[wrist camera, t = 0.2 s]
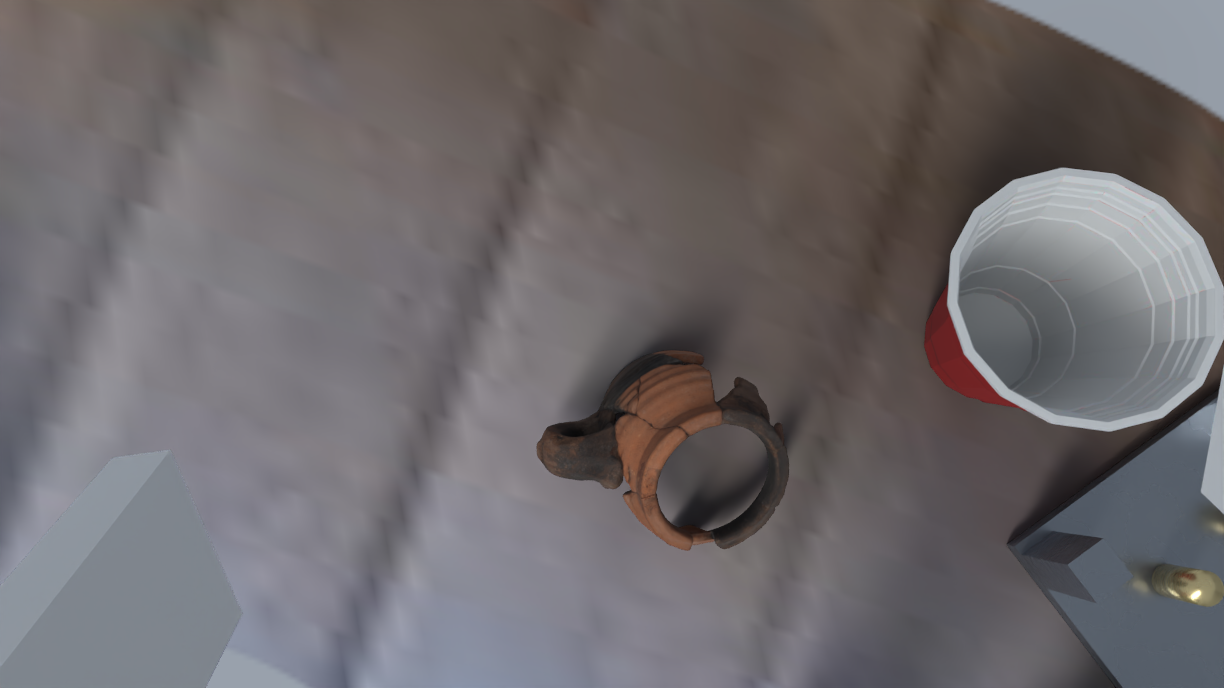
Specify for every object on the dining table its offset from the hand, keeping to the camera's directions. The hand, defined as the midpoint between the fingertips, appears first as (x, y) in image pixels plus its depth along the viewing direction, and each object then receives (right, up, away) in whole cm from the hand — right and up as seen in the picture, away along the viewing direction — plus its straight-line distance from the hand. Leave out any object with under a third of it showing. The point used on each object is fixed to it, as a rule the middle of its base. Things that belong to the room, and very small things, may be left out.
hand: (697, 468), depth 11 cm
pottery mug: (+2, -4, +35) cm, 36 cm away
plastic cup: (+18, +2, +35) cm, 40 cm away
